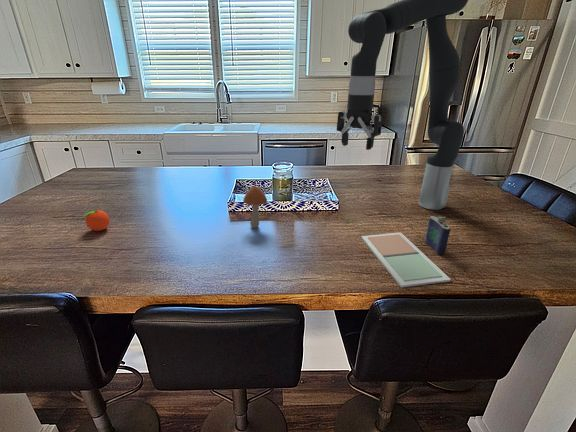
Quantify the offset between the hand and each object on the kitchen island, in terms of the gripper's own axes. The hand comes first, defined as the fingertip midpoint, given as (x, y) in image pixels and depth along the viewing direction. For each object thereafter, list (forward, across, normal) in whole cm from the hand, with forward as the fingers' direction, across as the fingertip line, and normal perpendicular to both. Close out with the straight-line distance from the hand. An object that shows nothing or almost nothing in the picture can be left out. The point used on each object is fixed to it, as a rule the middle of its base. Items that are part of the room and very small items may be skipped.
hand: (356, 147), depth 100 cm
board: (+28, -23, +8) cm, 37 cm away
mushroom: (+27, +23, +24) cm, 43 cm away
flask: (+28, -28, -4) cm, 40 cm away
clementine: (+27, +61, +61) cm, 91 cm away
